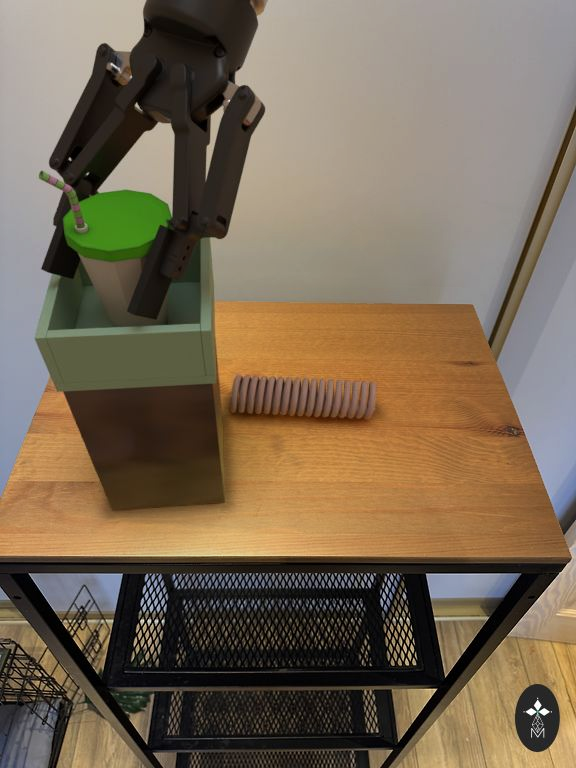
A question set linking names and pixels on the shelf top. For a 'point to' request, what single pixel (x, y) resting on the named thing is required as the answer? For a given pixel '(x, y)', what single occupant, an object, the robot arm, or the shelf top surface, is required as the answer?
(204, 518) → the shelf top surface
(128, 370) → the bin
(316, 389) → the coil
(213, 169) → the robot arm
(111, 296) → the cup
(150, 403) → the stand
